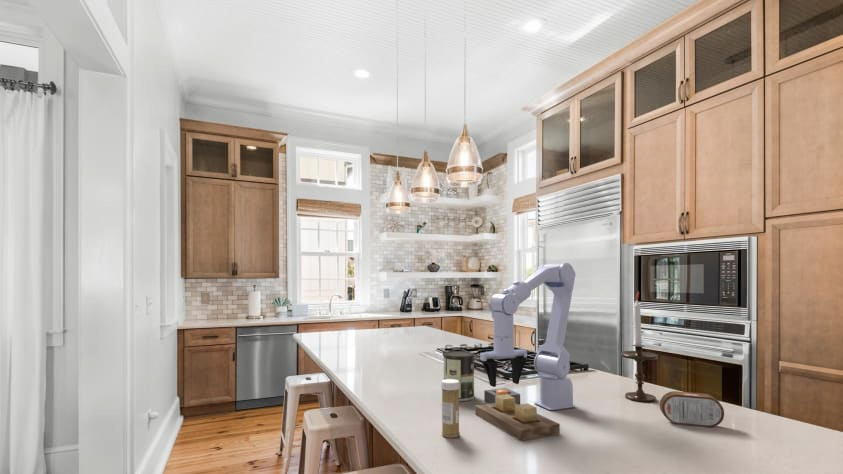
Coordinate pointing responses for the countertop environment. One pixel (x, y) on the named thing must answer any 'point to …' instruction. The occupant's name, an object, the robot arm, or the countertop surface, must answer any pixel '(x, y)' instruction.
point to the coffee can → (460, 372)
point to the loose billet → (504, 403)
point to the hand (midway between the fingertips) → (504, 384)
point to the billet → (525, 413)
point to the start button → (501, 392)
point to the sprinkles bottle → (450, 408)
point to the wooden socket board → (517, 423)
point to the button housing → (490, 394)
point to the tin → (692, 409)
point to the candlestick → (639, 360)
